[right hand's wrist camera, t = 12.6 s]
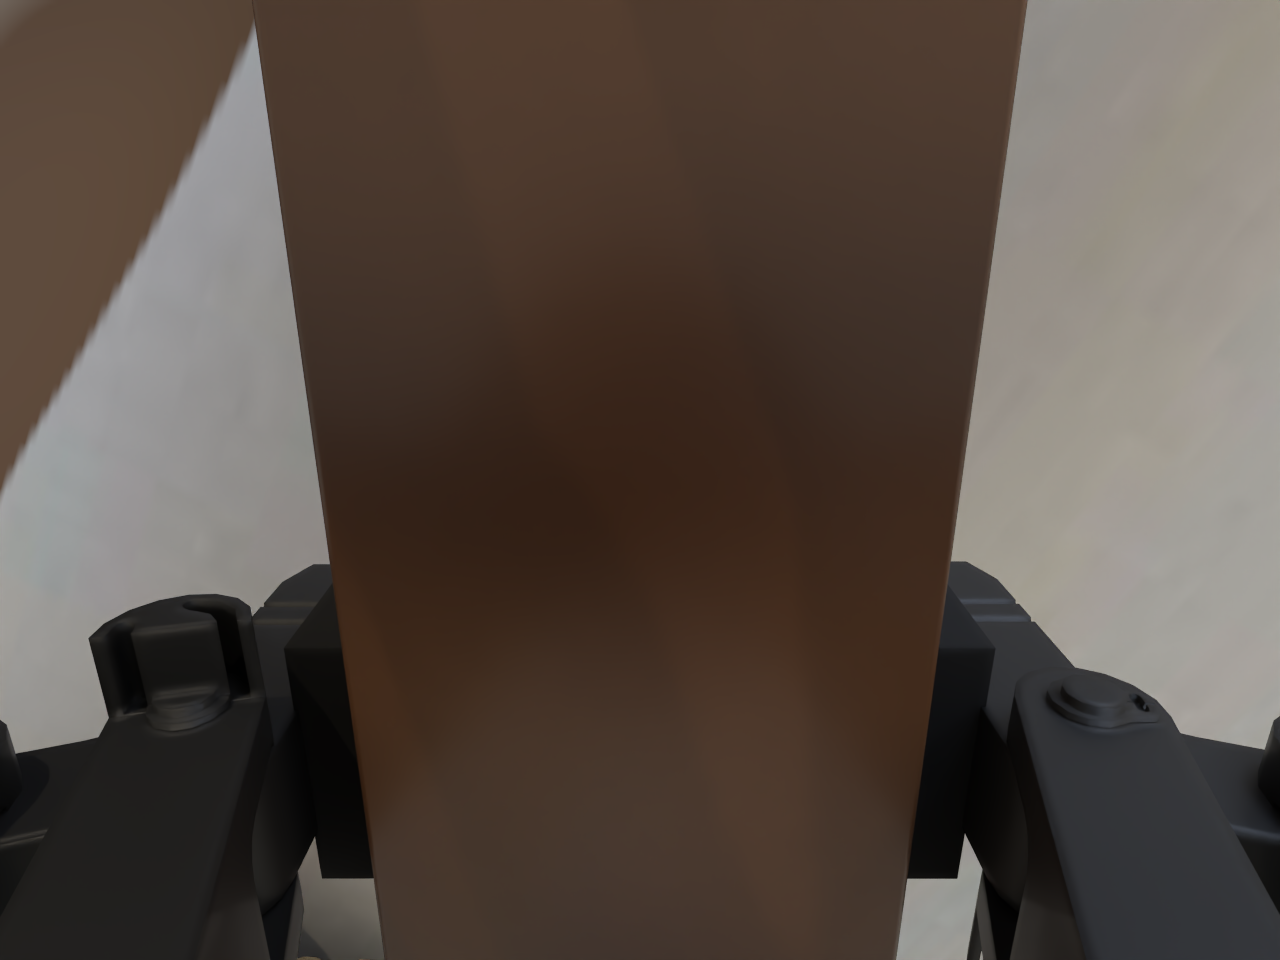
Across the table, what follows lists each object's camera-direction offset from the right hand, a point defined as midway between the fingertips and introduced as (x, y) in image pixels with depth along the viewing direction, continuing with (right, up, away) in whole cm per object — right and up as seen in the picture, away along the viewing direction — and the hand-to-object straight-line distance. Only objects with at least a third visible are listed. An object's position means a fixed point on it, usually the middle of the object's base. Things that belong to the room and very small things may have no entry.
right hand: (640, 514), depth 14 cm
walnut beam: (0, +9, -2) cm, 9 cm away
